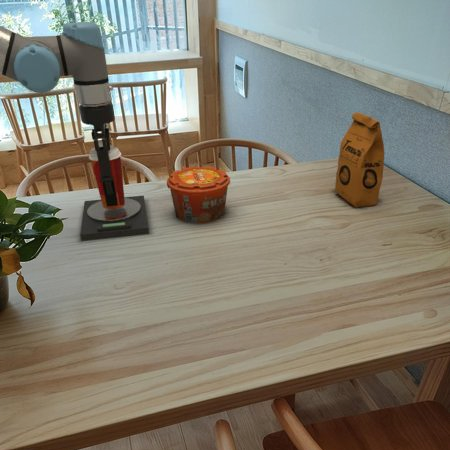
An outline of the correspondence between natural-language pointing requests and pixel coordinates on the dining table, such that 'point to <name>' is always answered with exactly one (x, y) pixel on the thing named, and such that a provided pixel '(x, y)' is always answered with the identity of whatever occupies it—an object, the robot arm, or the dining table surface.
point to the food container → (199, 193)
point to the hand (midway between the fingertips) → (112, 199)
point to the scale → (114, 219)
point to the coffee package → (361, 162)
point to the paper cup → (116, 174)
